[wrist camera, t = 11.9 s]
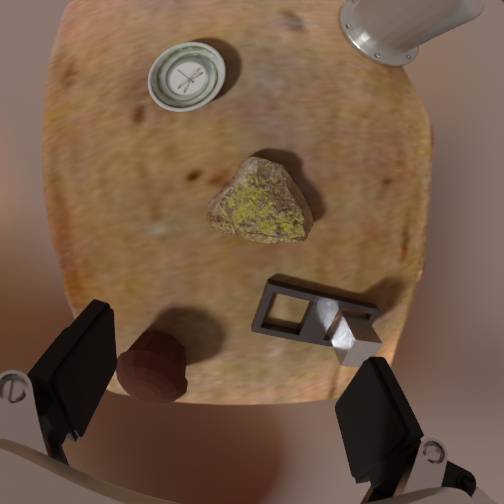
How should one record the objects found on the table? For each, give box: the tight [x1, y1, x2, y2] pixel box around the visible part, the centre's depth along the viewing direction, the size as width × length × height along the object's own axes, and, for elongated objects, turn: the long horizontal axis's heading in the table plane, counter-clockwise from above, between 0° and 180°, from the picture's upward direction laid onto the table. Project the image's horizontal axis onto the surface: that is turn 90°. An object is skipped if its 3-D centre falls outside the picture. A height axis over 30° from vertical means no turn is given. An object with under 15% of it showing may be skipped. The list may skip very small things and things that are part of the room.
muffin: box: [116, 330, 188, 405], centre depth 37 cm, size 12×11×10 cm
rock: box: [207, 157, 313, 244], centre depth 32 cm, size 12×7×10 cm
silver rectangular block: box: [327, 308, 383, 367], centre depth 36 cm, size 4×4×8 cm
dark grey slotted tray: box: [252, 279, 380, 347], centre depth 39 cm, size 8×18×2 cm, turn 74°
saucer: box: [148, 42, 226, 112], centre depth 27 cm, size 10×10×2 cm
